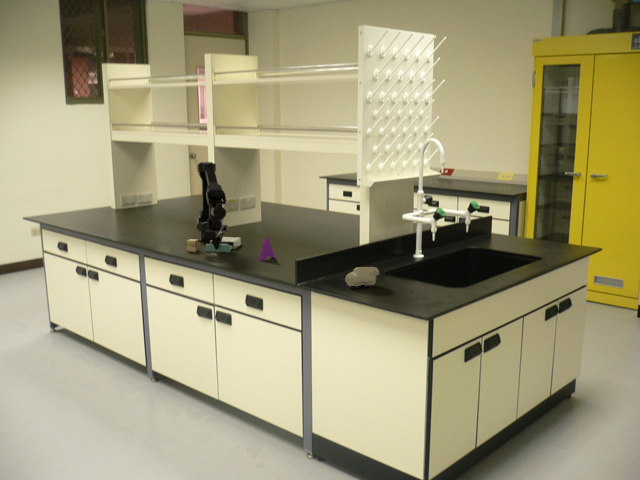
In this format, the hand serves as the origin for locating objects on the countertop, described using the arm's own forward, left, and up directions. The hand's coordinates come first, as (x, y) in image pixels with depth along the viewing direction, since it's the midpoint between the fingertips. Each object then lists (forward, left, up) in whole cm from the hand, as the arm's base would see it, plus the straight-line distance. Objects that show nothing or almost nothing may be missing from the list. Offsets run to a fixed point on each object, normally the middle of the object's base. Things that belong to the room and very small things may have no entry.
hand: (216, 249), depth 277 cm
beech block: (-1, -12, -1) cm, 12 cm away
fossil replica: (+44, +71, -2) cm, 84 cm away
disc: (-7, 0, -1) cm, 7 cm away
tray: (-7, 0, -1) cm, 7 cm away
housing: (-13, 0, -1) cm, 13 cm away
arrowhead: (+9, +26, -2) cm, 28 cm away
